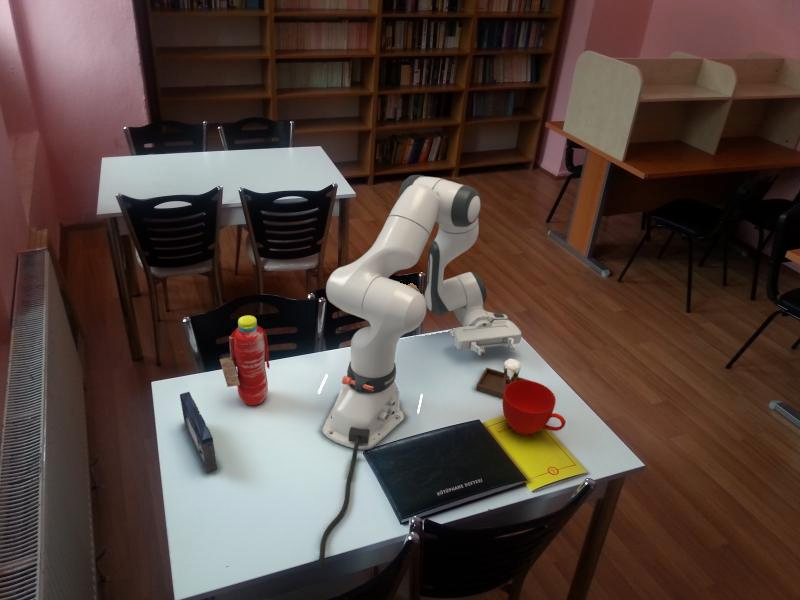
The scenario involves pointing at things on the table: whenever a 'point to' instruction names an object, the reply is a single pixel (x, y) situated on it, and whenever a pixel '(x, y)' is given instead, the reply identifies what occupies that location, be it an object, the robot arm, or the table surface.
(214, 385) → the table surface
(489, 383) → the tray
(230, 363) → the water bottle
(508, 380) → the milkshake
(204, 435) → the vhs cassette tape
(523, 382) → the ceramic cup
